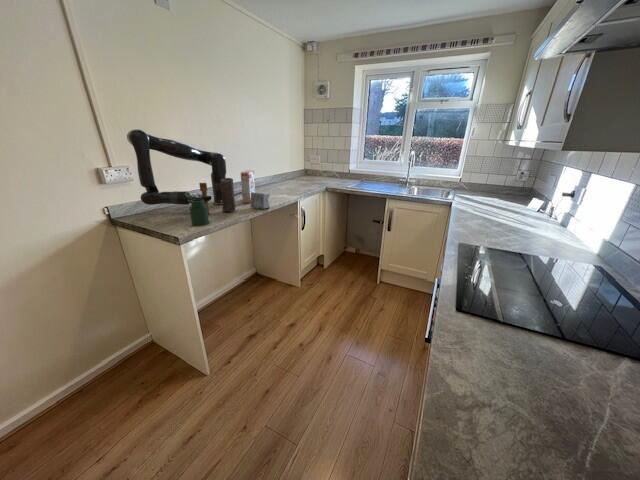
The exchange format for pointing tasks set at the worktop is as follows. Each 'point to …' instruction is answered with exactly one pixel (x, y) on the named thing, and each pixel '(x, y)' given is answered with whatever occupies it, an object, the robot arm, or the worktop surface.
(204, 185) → the wooden spoon
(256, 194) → the incense holder
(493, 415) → the worktop surface
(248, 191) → the cracker box
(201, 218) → the bottle
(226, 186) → the candle
